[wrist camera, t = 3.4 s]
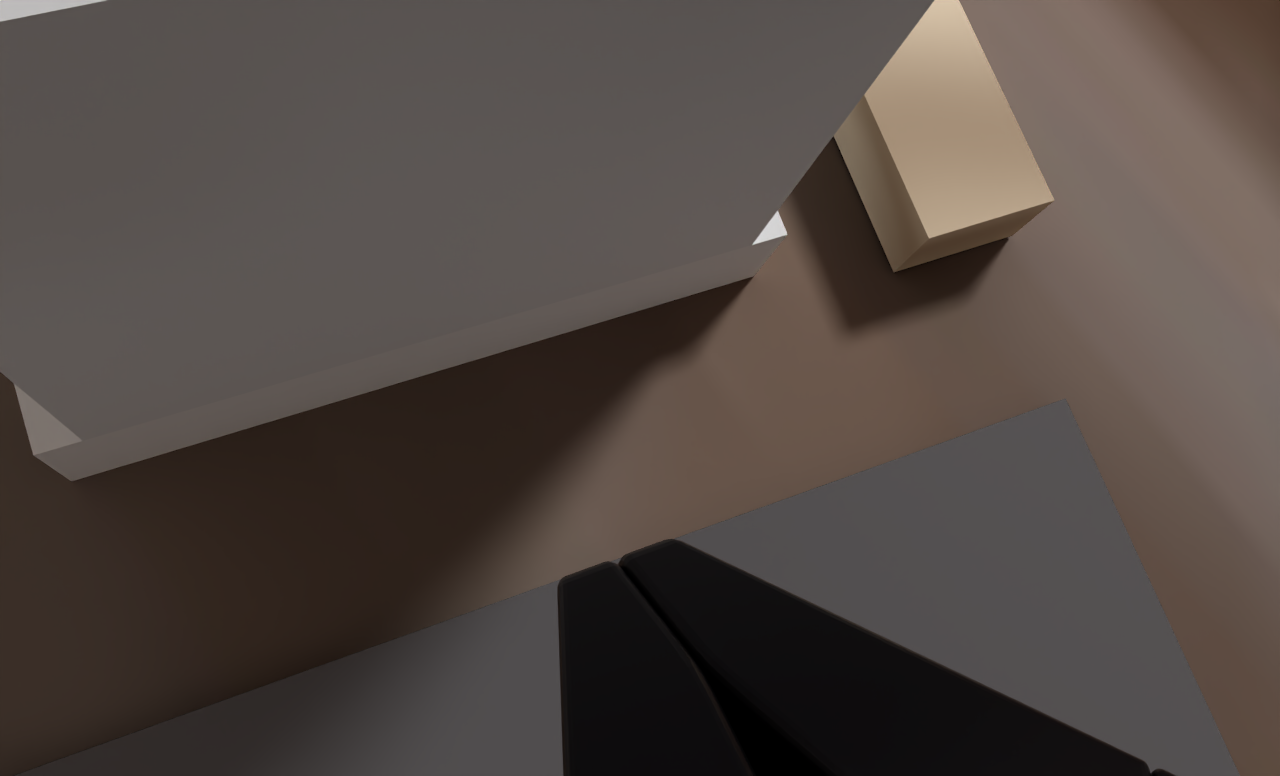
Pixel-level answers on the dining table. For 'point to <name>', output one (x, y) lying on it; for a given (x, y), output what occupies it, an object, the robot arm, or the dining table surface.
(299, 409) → the white l-shaped bracket
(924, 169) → the channel
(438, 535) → the dining table surface
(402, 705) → the mat
